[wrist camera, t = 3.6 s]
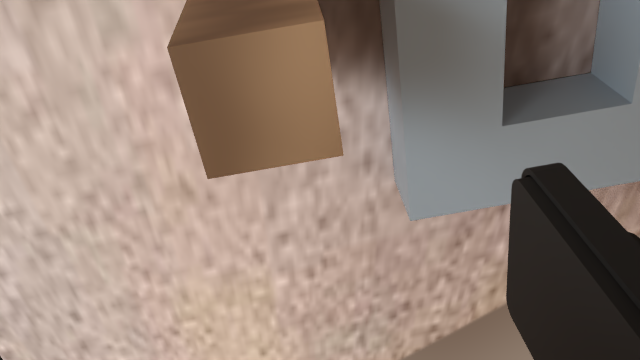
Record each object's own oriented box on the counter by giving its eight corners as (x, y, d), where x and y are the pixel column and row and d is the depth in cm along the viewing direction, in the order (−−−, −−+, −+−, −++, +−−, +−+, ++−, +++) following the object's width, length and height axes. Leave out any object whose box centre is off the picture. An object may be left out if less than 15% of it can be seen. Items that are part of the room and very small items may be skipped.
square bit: (299, -54, 22) (323, 19, 14) (314, 42, 25) (343, 155, 16) (202, -37, 22) (167, 47, 14) (225, 57, 25) (207, 178, 16)
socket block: (730, -186, 21) (806, -188, 18) (660, 134, 29) (706, 169, 26) (368, -122, 21) (385, -114, 18) (394, 180, 29) (410, 220, 26)
